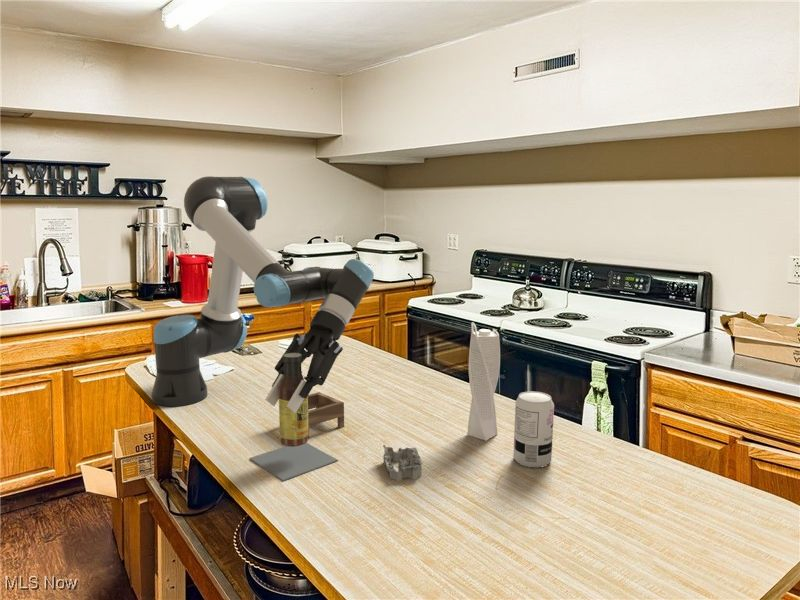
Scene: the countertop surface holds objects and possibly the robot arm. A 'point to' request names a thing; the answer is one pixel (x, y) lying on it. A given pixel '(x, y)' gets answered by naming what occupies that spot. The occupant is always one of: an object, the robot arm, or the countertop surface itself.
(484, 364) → the skyscraper
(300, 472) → the slate mat
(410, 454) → the egg carton
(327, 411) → the wooden square frame
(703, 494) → the countertop surface
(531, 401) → the supplement can
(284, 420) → the sauce bottle
